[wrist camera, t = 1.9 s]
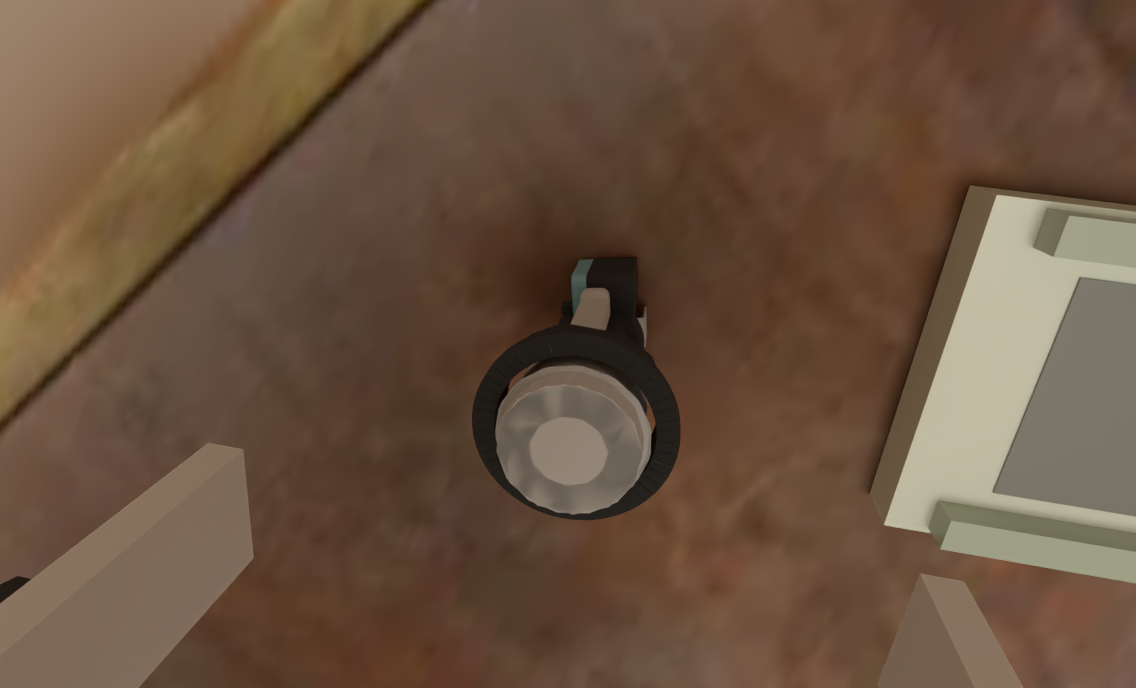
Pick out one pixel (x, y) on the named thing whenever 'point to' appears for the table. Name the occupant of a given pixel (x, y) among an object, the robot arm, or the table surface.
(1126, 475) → the plate
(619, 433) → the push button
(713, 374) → the table surface
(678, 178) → the table surface
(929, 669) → the robot arm
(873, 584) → the table surface
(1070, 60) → the table surface
